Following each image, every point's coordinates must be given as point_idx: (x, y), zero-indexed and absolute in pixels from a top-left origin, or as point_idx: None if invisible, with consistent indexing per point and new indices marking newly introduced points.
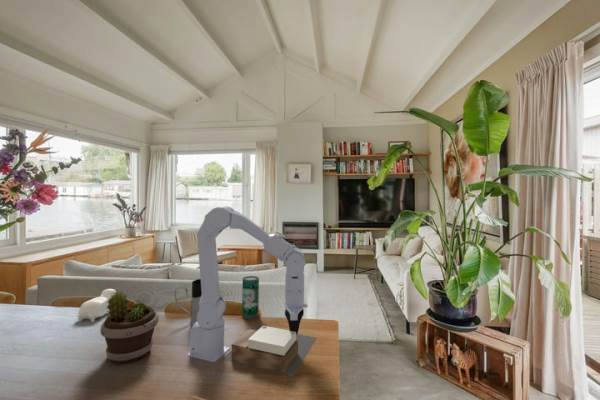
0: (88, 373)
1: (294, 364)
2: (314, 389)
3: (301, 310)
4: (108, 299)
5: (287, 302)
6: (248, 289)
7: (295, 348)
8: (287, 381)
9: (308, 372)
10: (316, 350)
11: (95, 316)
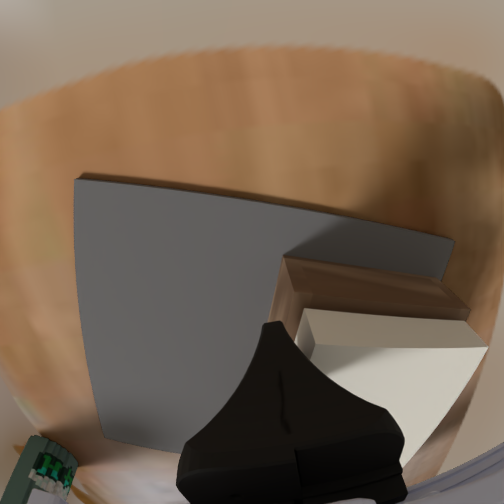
0: None
1: (378, 252)
2: (495, 149)
3: (285, 477)
4: None
5: None
6: None
7: (334, 283)
8: (463, 255)
9: (416, 177)
10: (204, 154)
11: None
